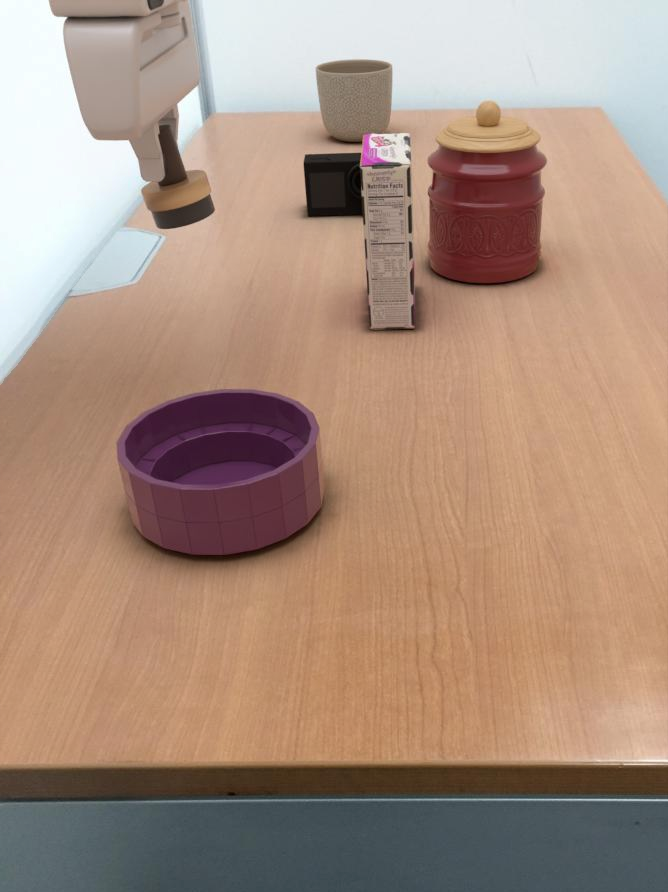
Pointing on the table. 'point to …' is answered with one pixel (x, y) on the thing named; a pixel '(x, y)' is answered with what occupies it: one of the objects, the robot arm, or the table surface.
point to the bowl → (222, 470)
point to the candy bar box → (388, 230)
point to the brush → (177, 190)
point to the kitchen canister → (486, 198)
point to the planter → (355, 97)
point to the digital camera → (333, 184)
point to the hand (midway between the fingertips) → (161, 172)
